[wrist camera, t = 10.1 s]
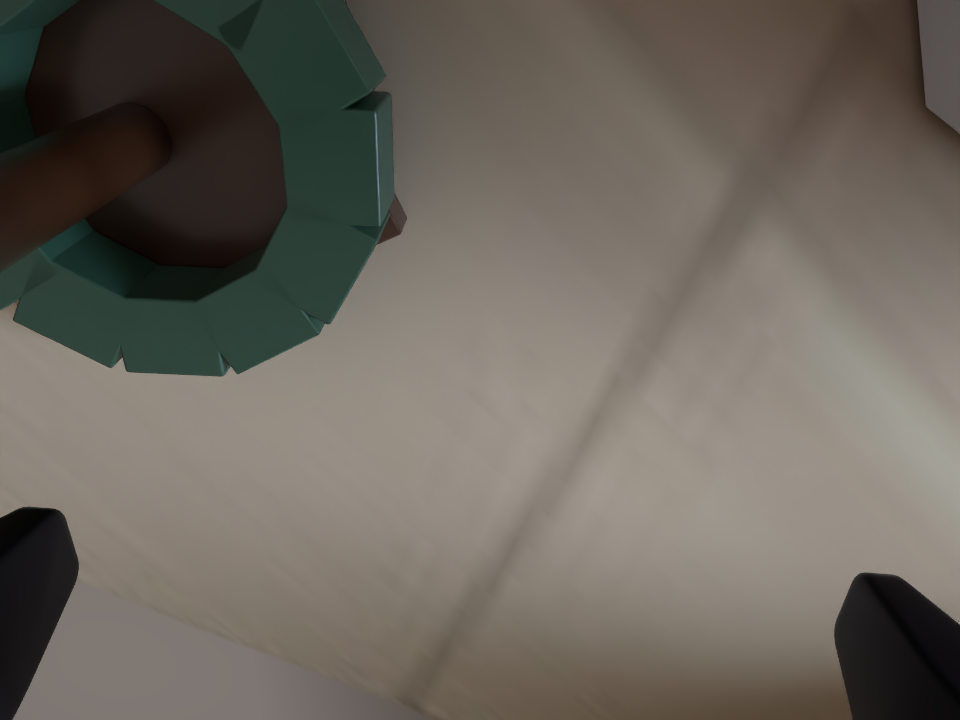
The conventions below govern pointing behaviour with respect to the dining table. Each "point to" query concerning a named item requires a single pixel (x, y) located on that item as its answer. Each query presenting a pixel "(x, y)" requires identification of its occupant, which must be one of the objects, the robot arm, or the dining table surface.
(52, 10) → the ring
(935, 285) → the dining table surface
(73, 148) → the peg stand
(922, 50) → the flask
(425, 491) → the dining table surface
